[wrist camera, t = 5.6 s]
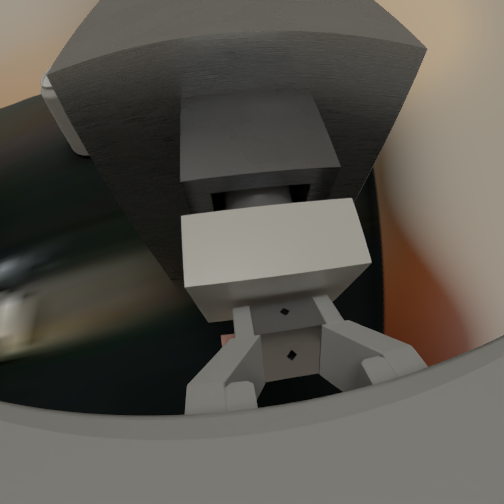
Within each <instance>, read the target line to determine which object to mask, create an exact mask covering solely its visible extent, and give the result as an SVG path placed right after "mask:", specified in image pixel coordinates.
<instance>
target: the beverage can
mask: <svg viewBox="0 0 504 504" xmlns="http://www.w3.org/2000/svg"><path fill="white" fill-rule="evenodd" d="M51 67H52V66H51ZM51 67H50V68H51ZM50 68H49V69H48V70H47V71H46V72H45V74H44V75H43V76H42V78H41V81H40V84H41V86H42V87H41V95H42V97H43V99H44V101H45V103H46V105H47V106H48V108H49V110H50V112H51V113H52V115H53V117H54V119H55V120H56V122H57V124H58V126H59V127H60V129H61V131H62V132H63V134H64V136H65V137H66V139H67V141H68V142H69V144H70V146H71V147H72V149H73V150H74V152H76V153H77V154H79V155H85V156H87V155H89V154H88V152H87V150H86V149H85V147H84V145H83V143H82V142H81V140H80V138H79V136H78V135H77V133H76V131H75V129H74V127H73V126H72V124H71V122H70V120H69V118H68V116H67V114H66V113H65V111H64V109H63V107H62V105H61V103H60V101H59V99H58V97H57V95H56V93H55V92H54V90H53V88H52V86H51V84H50V82H49V79H48V77H47V73H48V71H49V70H50Z"/></svg>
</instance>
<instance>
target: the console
mask: <svg viewBox="0 0 504 504" xmlns="http://www.w3.org/2000/svg"><path fill="white" fill-rule="evenodd" d="M426 51H427V48H426V47H425V46H424V45H423V44H422V43H421V42H420V41H419V40H418V39H417V38H416V37H415V36H414V35H413V34H412V33H411V32H410V31H409V30H408V29H406V28H405V27H404V26H403V25H402V24H401V23H400V22H399V21H398V20H397V19H395V18H394V17H393V16H392V15H391V14H390V13H389V12H387V11H386V10H385V9H384V8H383V7H381V6H380V5H379V4H378V3H376V2H375V1H374V0H100V1H99V2H98V3H97V5H96V6H95V7H94V8H93V9H92V11H91V12H90V13H89V14H88V16H87V17H86V18H85V19H84V21H83V22H82V23H81V25H80V26H79V27H78V28H77V30H76V31H75V33H74V34H73V35H72V37H71V38H70V39H69V41H68V42H67V44H66V45H65V47H64V48H63V50H62V51H61V53H60V55H59V56H58V57H57V59H56V60H55V62H54V64H53V65H52V67H51V68H50V70H49V71H48V73H47V77H48V79H49V82H50V84H51V86H52V88H53V90H54V92H55V93H56V95H57V97H58V99H59V101H60V103H61V105H62V107H63V109H64V111H65V113H66V114H67V116H68V118H69V120H70V122H71V124H72V126H73V127H74V129H75V131H76V133H77V135H78V136H79V138H80V140H81V142H82V143H83V145H84V147H85V149H86V150H87V152H88V154H89V155H90V157H91V159H92V161H93V162H94V164H95V166H96V167H97V169H98V171H99V172H100V174H101V176H102V177H103V179H104V180H105V182H106V184H107V185H108V187H109V189H110V190H111V192H112V193H113V195H114V197H115V198H116V200H117V201H118V203H119V204H120V206H121V207H122V209H123V211H124V212H125V214H126V215H127V217H128V218H129V220H130V221H131V223H132V224H133V226H134V227H135V229H136V230H137V232H138V233H139V235H140V236H141V238H142V239H143V241H144V242H145V244H146V245H147V246H148V248H149V249H150V251H151V252H152V254H153V255H154V256H155V258H156V259H157V261H158V262H159V264H160V265H161V266H162V268H163V269H164V271H165V272H166V273H167V275H168V276H169V278H170V279H180V278H184V270H183V252H182V229H181V216H183V215H191V214H199V213H206V212H215V211H223V210H226V209H225V200H224V192H227V191H236V190H245V189H254V188H264V187H275V186H286V185H288V186H289V190H290V194H291V198H292V203H297V202H308V201H320V200H331V199H344V198H352V200H353V203H354V202H355V200H356V198H357V196H358V194H359V192H360V190H361V188H362V187H363V185H364V183H365V181H366V179H367V177H368V175H369V173H370V171H371V169H372V167H373V165H374V163H375V161H376V159H377V157H378V155H379V153H380V151H381V149H382V147H383V145H384V143H385V141H386V139H387V137H388V135H389V133H390V131H391V129H392V127H393V125H394V123H395V121H396V119H397V116H398V114H399V112H400V110H401V108H402V106H403V104H404V101H405V99H406V97H407V95H408V92H409V90H410V88H411V86H412V84H413V81H414V79H415V77H416V75H417V72H418V70H419V67H420V65H421V63H422V60H423V58H424V56H425V53H426Z"/></svg>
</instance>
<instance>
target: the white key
mask: <svg viewBox="0 0 504 504" xmlns="http://www.w3.org/2000/svg"><path fill="white" fill-rule="evenodd" d="M224 200H225V209H226V210H223V211H215V212H206V213H199V214H191V215H183V216H181V229H182V252H183V270H184V285H185V289H186V290H187V292H188V293H189V295H190V296H191V298H192V299H193V301H194V302H195V304H196V305H197V307H198V308H199V310H200V311H201V312H202V314H203V315H204V317H205V318H206V320H207V321H208V323H209V322H218V321H227V320H233V311H232V309H233V308H234V307H241V306H250V305H260V304H268V303H277V302H286V301H292V300H298V299H304V298H309V297H315V296H320V295H325V294H326V295H328V297H329V298H330V300H331V301H332V302H333V301H334V300H335V299H336V298H337V297H338V296H339V295H340V294H341V293H342V292H343V291H344V290H345V289H346V288H347V287H348V286H349V285H350V284H351V283H352V282H353V281H354V280H355V279H356V278H357V277H358V276H359V275H360V274H361V273H362V272H363V271H364V270H365V269H366V268H367V267H368V266H369V265H370V264H371V263H372V262H371V258H370V255H369V251H368V248H367V244H366V241H365V238H364V234H363V231H362V228H361V224H360V221H359V218H358V215H357V212H356V209H355V206H354V203H353V200H352V198H344V199H331V200H320V201H308V202H297V203H292V198H291V194H290V190H289V186H288V185H286V186H275V187H264V188H254V189H245V190H236V191H227V192H224Z"/></svg>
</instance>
